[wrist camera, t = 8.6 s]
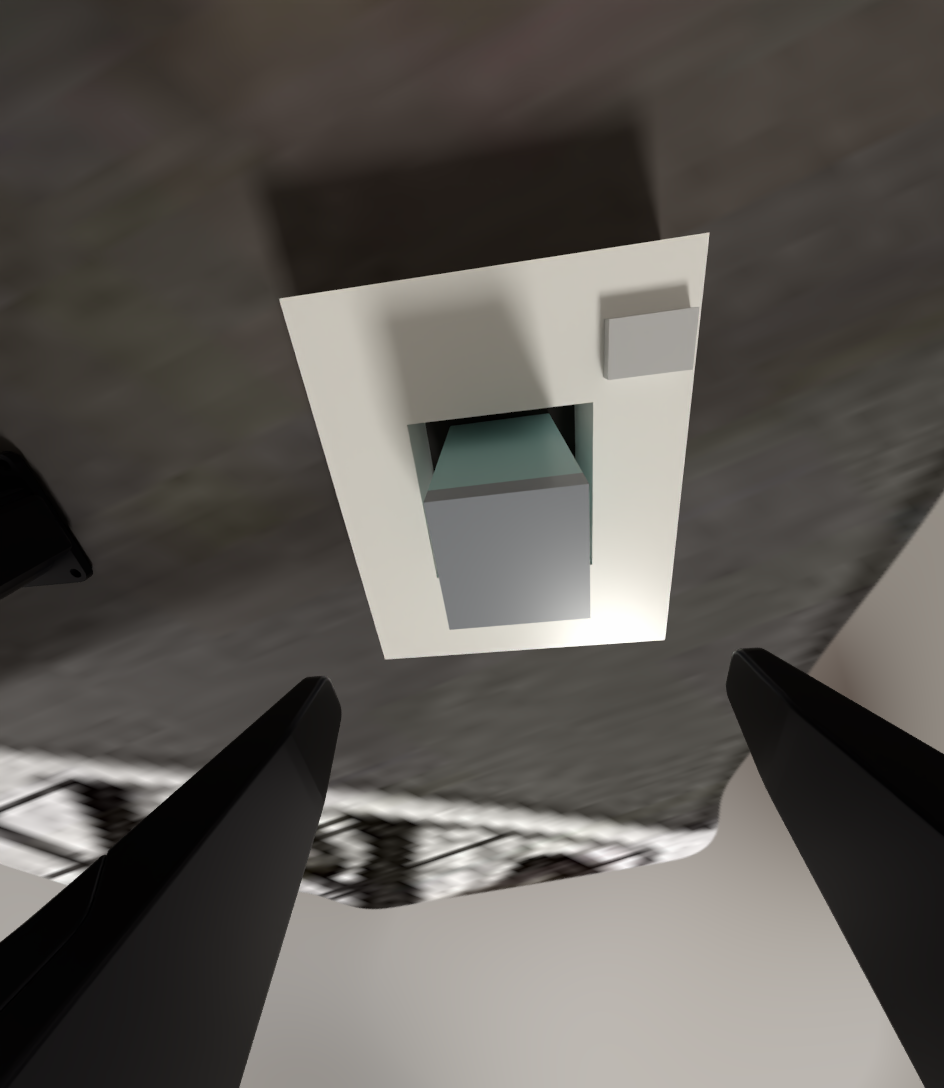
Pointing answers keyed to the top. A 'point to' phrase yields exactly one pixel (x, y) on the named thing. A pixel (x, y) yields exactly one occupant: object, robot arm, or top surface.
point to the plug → (510, 525)
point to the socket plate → (500, 387)
